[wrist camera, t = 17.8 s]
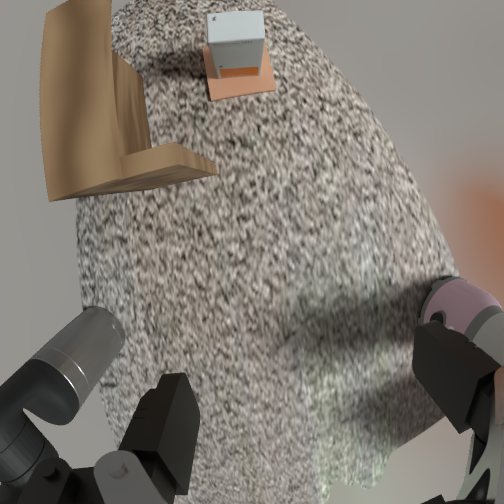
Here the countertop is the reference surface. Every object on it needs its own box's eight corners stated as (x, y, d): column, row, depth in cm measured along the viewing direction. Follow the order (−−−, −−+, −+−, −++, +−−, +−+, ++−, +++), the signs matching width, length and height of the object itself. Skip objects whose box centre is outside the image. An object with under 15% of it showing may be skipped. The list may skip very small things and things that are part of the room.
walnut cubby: (149, 189, 40) (49, 201, 17) (133, 79, 36) (46, 13, 13) (217, 174, 39) (174, 163, 17) (197, 61, 35) (151, -35, 13)
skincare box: (217, 80, 36) (205, 43, 24) (216, 54, 35) (204, 12, 23) (261, 76, 36) (265, 38, 24) (259, 51, 35) (262, 8, 23)
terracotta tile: (211, 101, 37) (211, 100, 36) (202, 49, 35) (201, 47, 34) (275, 90, 37) (276, 89, 36) (263, 38, 35) (264, 36, 34)
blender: (475, 278, 43) (600, 354, 12) (454, 337, 46) (554, 435, 14) (413, 267, 42) (565, 368, 11) (392, 335, 45) (497, 470, 14)
